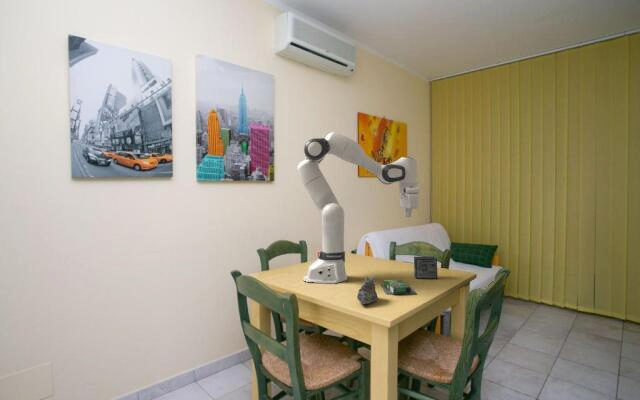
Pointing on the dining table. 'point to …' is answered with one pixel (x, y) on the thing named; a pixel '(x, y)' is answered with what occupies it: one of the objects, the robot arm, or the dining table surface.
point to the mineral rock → (367, 291)
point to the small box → (425, 267)
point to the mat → (392, 293)
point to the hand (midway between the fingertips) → (408, 217)
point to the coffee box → (397, 286)
